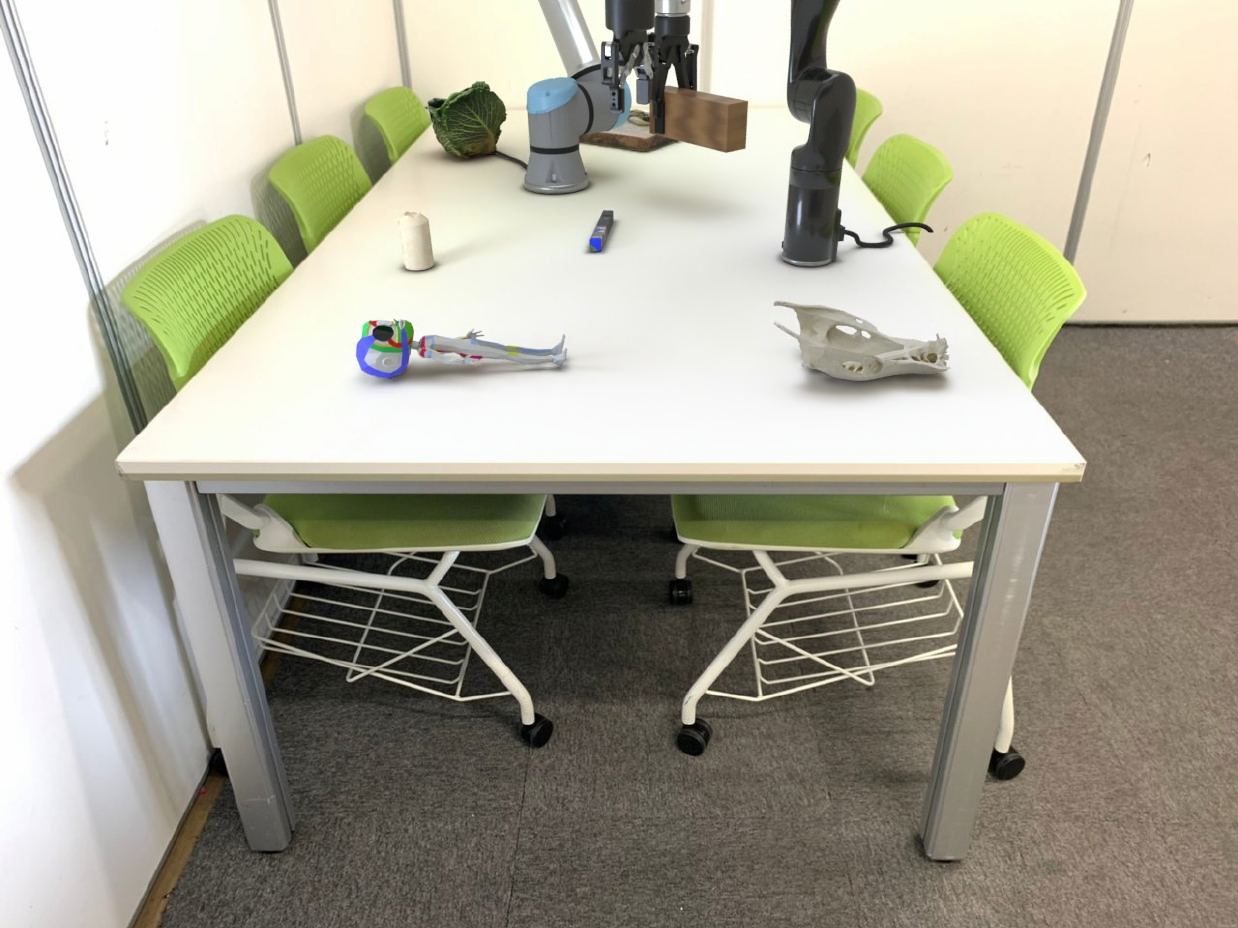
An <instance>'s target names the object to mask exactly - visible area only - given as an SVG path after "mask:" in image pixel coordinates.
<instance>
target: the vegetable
mask: <svg viewBox="0 0 1238 928" xmlns="http://www.w3.org/2000/svg"><path fill="white" fill-rule="evenodd" d="M424 109H425V110H428V113H429V117H430V119H429V120H430V121H431V123H432V129H433V132H434V134H435V138H436V140H437V142H438V143H439V144H440V145H441V146H442V148H443V149H444V151H445V152H446V153H448V154H450V155H451V156H454V157H459V158H466V159H468V158H470V157H469V156H472V155H476V154H479V153H482V154H484V153H485V154H488V155H489V154H490V155H496V153H495V151H496V150H497V151H498V146H497V144H498V142H499V139H500V136H501V134H502V133H503V132H502V131H503V130H502V129H501V126H502V125H503V123H504V122H505V121H507V116H508V113H507V108H506V105H505V102H504V101H503V100H502V98H500V96H498V94H497V93H496V92H495V91H493V90H491V87H490V85H489V84H488V83H487V82H485V80H483V81H481V80H480V81H479V80H476V81H475V82H474V83H472V84H471V86H468V87H466V88H464V89H462V90H460V91H455V92H452V93H450V95H449V96H448V97H447V98H441V97H433V98H432V99H429V100H428V101H427V105H425V106H424Z"/></svg>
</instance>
